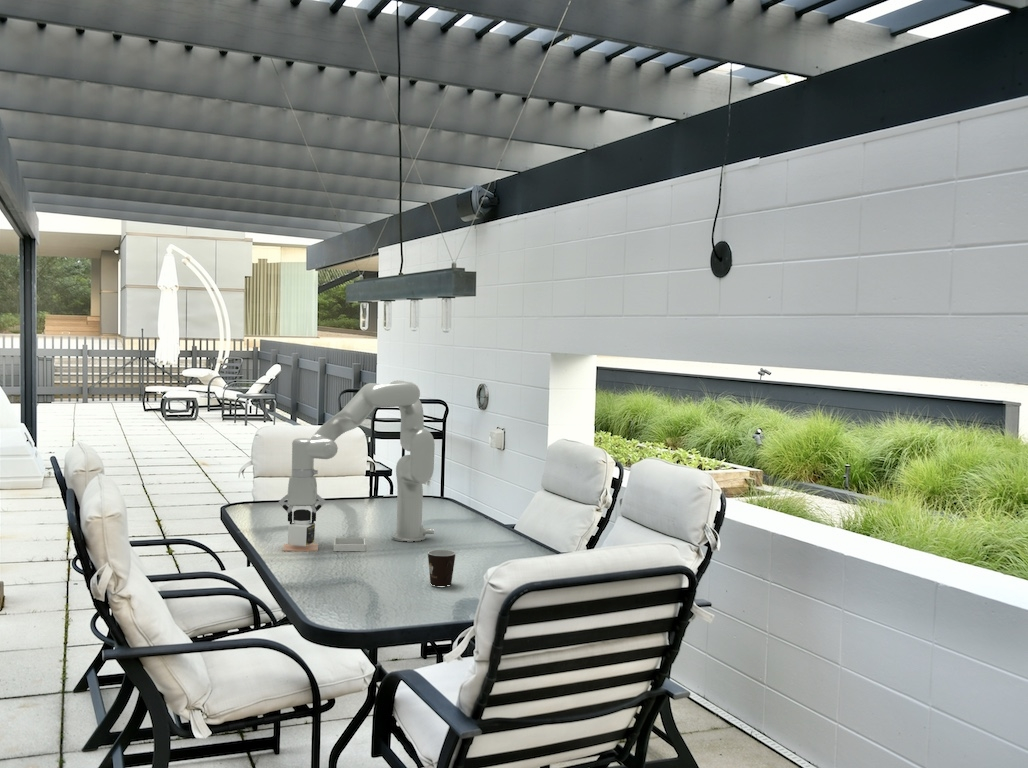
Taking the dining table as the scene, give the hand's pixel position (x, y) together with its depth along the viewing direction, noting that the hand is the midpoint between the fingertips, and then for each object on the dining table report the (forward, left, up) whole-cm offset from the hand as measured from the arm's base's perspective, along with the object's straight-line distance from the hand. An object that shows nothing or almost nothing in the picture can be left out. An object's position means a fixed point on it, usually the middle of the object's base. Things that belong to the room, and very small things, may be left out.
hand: (301, 522), depth 332 cm
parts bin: (-17, 0, -9) cm, 19 cm away
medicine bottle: (0, 0, -8) cm, 8 cm away
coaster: (0, 0, -9) cm, 9 cm away
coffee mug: (-45, +52, -9) cm, 69 cm away
